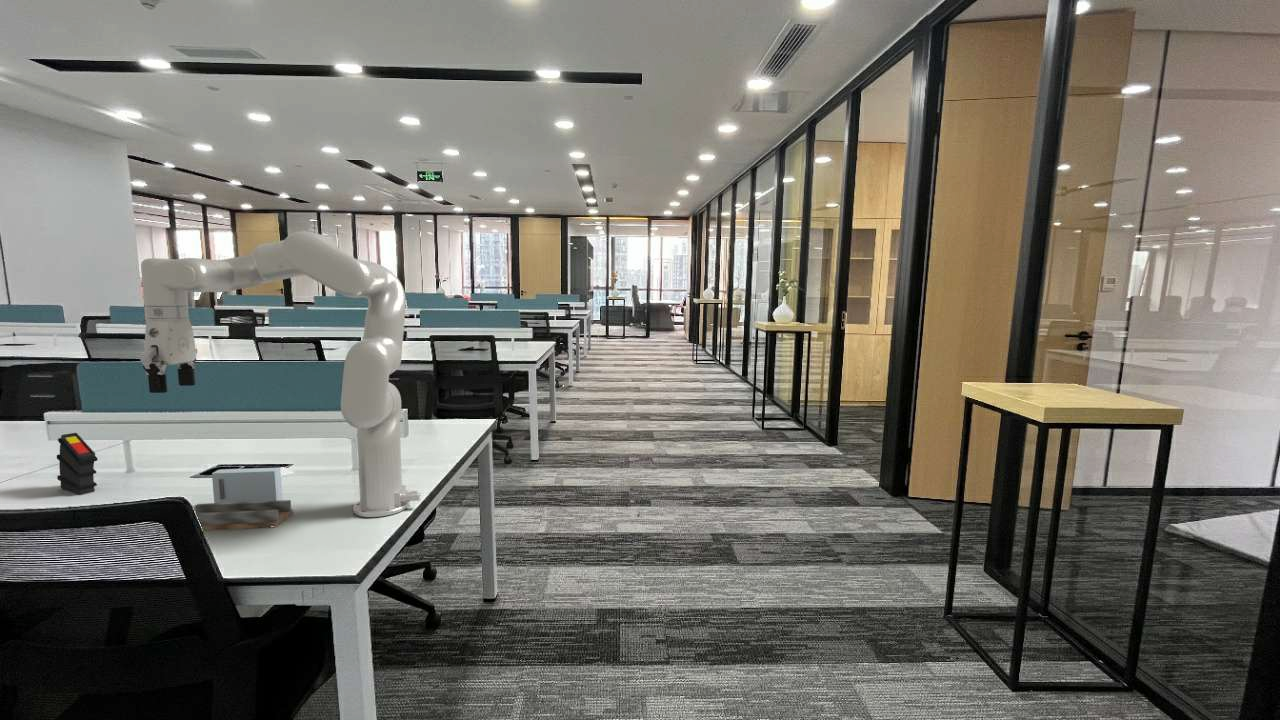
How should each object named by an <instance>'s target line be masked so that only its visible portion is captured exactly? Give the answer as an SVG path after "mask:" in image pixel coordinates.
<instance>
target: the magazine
mask: <svg viewBox="0 0 1280 720" xmlns="http://www.w3.org/2000/svg"><path fill="white" fill-rule="evenodd" d="M57 442H58V443H59V454H56V459H57V460H58V461H59V467H58V468H59V475H57V476H56V478H57V480H58V481H59V482H60V488H61V489H62V490H65V491H67V492H71V493H74V494H76V495H84V494H89V493H93V492H95V487H97V486H98V484H97V483H96V482H95V480H94V477H95V475H94V474H97V470H95V468H94V467H95V465H94V464H95V462H97V461H98V457H97V455H96V452H94V450H93V449H92V448H91V447H90V446H89V445H88V444H87V442H86V441H85V440H84V439H83V438H82V436H81V435H79V434H78V433H77V432H73V433H72V432H70V433H66V434H61V436H60V437H59V438H57Z"/></svg>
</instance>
